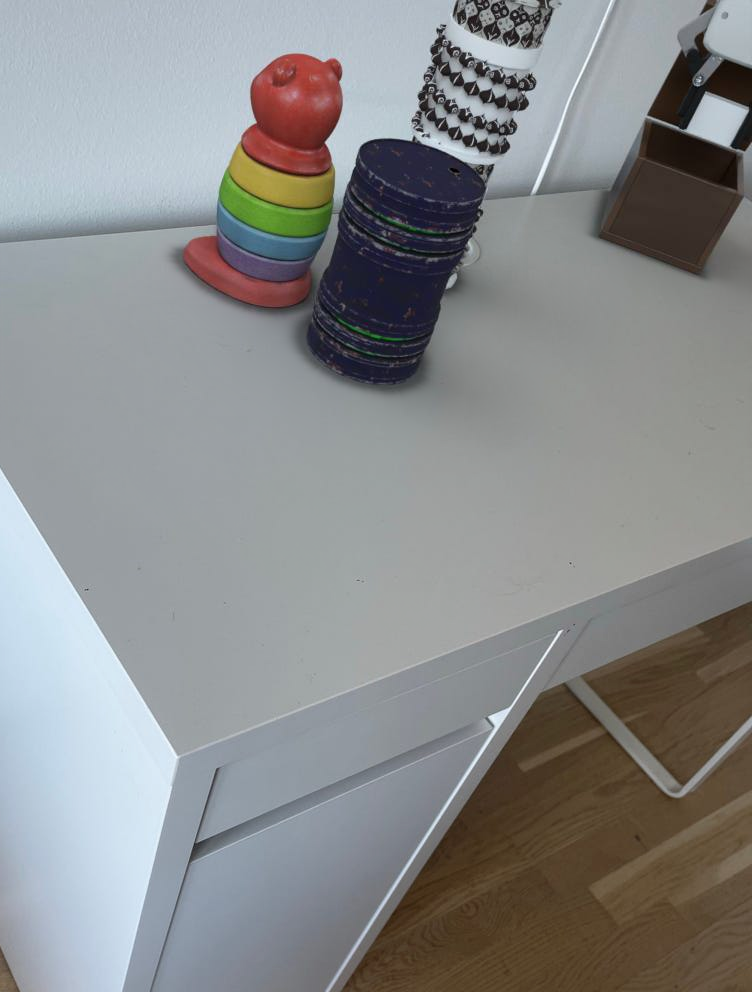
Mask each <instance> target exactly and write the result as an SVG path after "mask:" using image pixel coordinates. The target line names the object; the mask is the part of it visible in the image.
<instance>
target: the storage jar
mask: <svg viewBox="0 0 752 992" xmlns="http://www.w3.org/2000/svg"><path fill="white" fill-rule="evenodd" d="M485 193H486V184H485V182H484V180H483V179H482V177H481V176H480V175H479V174H478V173H477V172H476V171H475V170H474V169H473V168H472V167H470V166H469V165H468V164H466V163H465V162H463V161H462V160H460V159H458V158H456V157H455V156H453V155H451V154H448V153H446V152H444V151H442V150H439V149H437V148H434V147H431V146H428V145H425V144H421V143H418V142H413V141H412V140H408V139H402V138H393V137H392V138H391V137H382V138H381V137H380V138H374V139H369V140H367V141H365V142H363V143H362V144H361V145H360V146H359V148H358V150H357V154H356V158H355V162H354V167H353V169H352V172H351V175H350V179H349V181H348V182H347V184H346V187H345V190H344V194H343V195H344V196H343V199H342V205H341V208H340V210H339V212H338V216H337V218H338V220H337V231H338V232H337V237H336V240H335V243H334V246H333V250H332V254H331V257H330V261H329V264H328V266H327V267H326V268H324V270H323V273H322V277H321V278H320V280H319V285H318V286H319V287H318V288H317V291H316V293H315V294H316V295H315V298H314V301H313V307H312V314H311V321H310V323H309V325H308V327H307V330H306V337H305V339H306V343H307V344H306V345H307V346H308V348H309V350H310V351H311V353H312V355H314V356H315V358H316V359H317V360H318V361H319V362H321V363H322V364H323V365H325V366H326V367H328V368H329V370H332V371H334V372H335V373H337V374H340V375H341V376H344V377H346V378H348V379H352V380H354V381H357V382H361V383H364V384H365V383H366V384H372V385H383V386H386V385H388V386H389V385H396V384H401V383H404V382H406V381H408V380H410V379H412V378H413V377H414V376H415V375H416V373H417V372H418V369H419V367H420V363H421V358H422V357H423V355H424V353H425V351H426V348H428V345H429V344H430V343H431V339H432V337H433V334H434V331H435V327H436V324H437V322H438V320H439V317H440V313H441V309H442V303H441V301H442V298H443V296H444V293H445V291H446V289H445V288H446V286H447V283H448V281H449V278H450V275H451V273H452V270H453V269H454V268H455V267H456V266H457V265H458V264H459V261H460V259H463V258H462V257H463V254H464V248H465V245H466V244H467V243H468V244H469V241H470V239H471V238H470V236H471V233H472V231H473V228H474V222H475V219H476V217H477V214H478V210H479V206H480V205H481V204H482V205H483V203H482V201H483V198H484V196H485ZM486 194H487V193H486ZM485 197H486V196H485ZM484 199H485V198H484ZM483 202H484V201H483ZM482 205H481V206H482ZM469 238H470V239H469Z"/></svg>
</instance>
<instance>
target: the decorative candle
mask: <svg viewBox="0 0 752 992" xmlns="http://www.w3.org/2000/svg"><path fill="white" fill-rule="evenodd" d="M562 5H563V3H562V1H561V0H456V1H455V3H454V6H453V11H452V12H451V13H449V16H448V19H447V21H446V24H443V23H441V24H440V25H439V27H440V28H439V27H436V29H435V31H436V32H435V33H436V34H437V36H438V37H437V38H435V40H434V43H432V44H431V45H430V47H429V52H430V54H431V57H430V61H431V63H432V64H429V65H428V67H427V69H426V71H425V72H424V74H423V77H422V78H423V81H424V83H425V84H423V86H422V88H421V90H420V91H418V92H417V99H418V100H419V101H418V104H417V105H418V108H419V109H417V110H416V111H415V114H414V115H413V117H412V118H411V120H410V121H411V124H410V128H411V133H412V135H413V136H412V140H411V141H413V142H418V143H421V144H425V145H428V146H431V147H434V148H437V149H439V150H442V151H444V152H446V153H448V154H451V155H453V156H455V157H456V158H458V159H460V160H462V161H463V162H465V163H466V164H468V165H469V166H470V167H472V168H473V169H474V170H475V171H476V172H477V173H478V174H479V175H480V176H481V177H482V179H483V180H484V182H485V184H486V193H485V196H484V198H483V201H482V204H481V205H480V206H479V210H478V214H477V217H476V219H475V222H474V228H473V231H472V233H471V236H470V238H469V240H470V239H472V238H473V236H474V234H475V233H476V232H477V231H478V229H477V228H478V227H477V225H476V223H478V222H479V221H480V219H481V217H482V216H483V215H484V210H483V208H482V205H483V204H484V201H485V198H486V195H487V193H488V190H489V187H488V182H489V181H490V178H491V176H492V174H493V172H494V169H495V165H496V164H498V163H501V162H502V160H503V159H504V157H505V155H506V154H507V152H508V151H509V150H510V149H511V144H510V142H509V141H508V138H507V136H512V135H514V134H516V132H517V131H518V124H517V122H516V121H515V119H514V114H517V113H519V112H523V111H525V110H526V109H527V108H528V107H529V106H530V101H529V99H528V98H527V96H526V92H531V91H533V90H535V89H536V86H537V84H538V83H537V82H538V81H537V79H536V77H534V75H533V72H531V73H530V71H531V69H533V68H534V67H535V66H536V65H537V64H538V61H539V58H540V56H541V53H542V51H543V48H544V42H543V41H544V37H545V36H546V35H545V34H546V32H547V31H548V28H549V27H550V24H551V19H552V16H553V14H554V12H555V10H556V9H559V8H560V7H561V6H562ZM523 92H524V93H523ZM515 112H516V113H515ZM470 250H471V246H470V245H469V242H468V243H467V244H466V245H465V248H464V254H463V257H462V258H461V259H460V261H459V264H458V265H457V266H456V267H455V268H454V269H453V270H452V273H451V275H450V278H449V281H448V283H447V286H446V288H445V290H447V289H450V288H452V287H453V286H454V284H455V283H456V281H457V278H458V273H460V270H461V269H460V268H462V267H464V261H463V259H464V258H465V257H466V255H467V252H469V251H470Z"/></svg>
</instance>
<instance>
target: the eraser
mask: <svg viewBox="0 0 752 992" xmlns="http://www.w3.org/2000/svg"><path fill="white" fill-rule="evenodd" d="M748 112H749V107H747V106H744V105H741V104H739V103H736V102H733V101H731V100H728V99H725V98H723V97H720V96H717V95H715V94H712V93H709V92H707V91H706V92H705V94H704V96H703V98H702V100H701V102H700V104H699V106H698V108H697V110H696V112H695V114H694V116H693V118H692V120H691V121H690V123H689V125H688V127H687V129H684V130H683V131H684V132H687V133H689V134H692V135H695V136H697V137H700V138H703V139H706V140H708V141H711V142H714V143H716V144H719V145H722V146H724V147H727V148H730V147H731V146H730V145H731V143H732V141H733V139H734V137H735V135H736V134H737V132H738V130H739V128H740V126H741V124H742V123H743V121H744V119H745V117H746V115H747V114H748Z"/></svg>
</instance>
